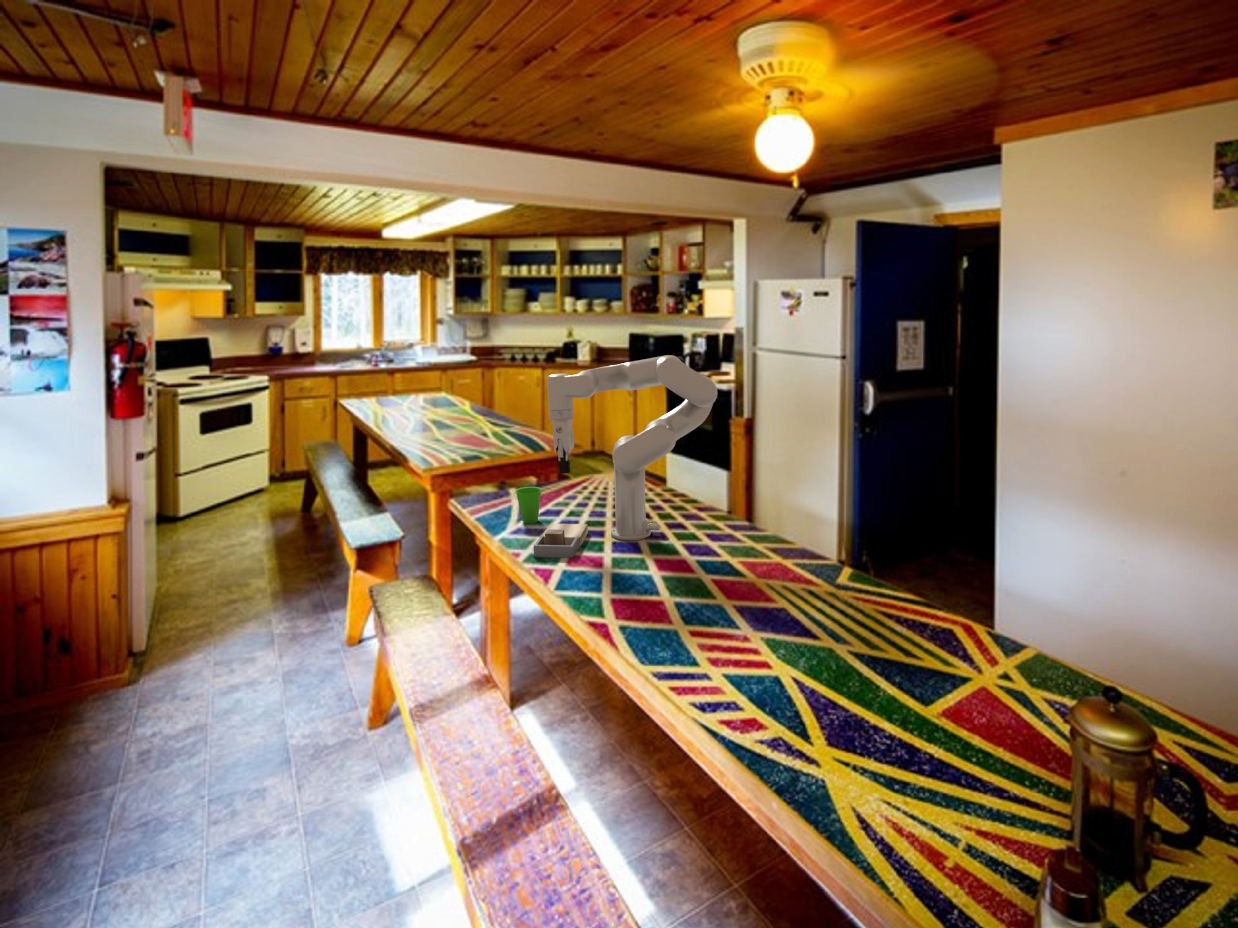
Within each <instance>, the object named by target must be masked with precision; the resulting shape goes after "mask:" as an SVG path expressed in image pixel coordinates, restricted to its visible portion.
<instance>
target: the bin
mask: <svg viewBox="0 0 1238 928" xmlns="http://www.w3.org/2000/svg"><path fill="white" fill-rule="evenodd" d="M579 549H580V547H579V536H576V537H575V539H574V540H573V542H572V544H571V545H544V535H543V534H541V535H540V536H539V538H538V539H537V540H536V541H535V543H534V545H533V556H534V557H533V558H552V559H553V558H556V559H557V558H558V559H559V558H561V559H562V558H563V559H567V558H568V559H573V558H574V557H575V555H577V554H576V553H577V552H578V550H579Z"/></svg>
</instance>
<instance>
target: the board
mask: <svg viewBox="0 0 1238 928" xmlns="http://www.w3.org/2000/svg"><path fill="white" fill-rule="evenodd" d="M548 529H555V530H564V535H565V545H571V544H572V542H573V540H574V539H575V537H576V536H579V548H581V547H582V544H583V542H584V541H585V539H586V538H587V535H588V533H589V530H588V529H589V528H588V524H586V523H550V524H549V525H548V527H547V528H546V529H545V530H544V532H543V534H542V535H544V545H545V533H546V531H547V530H548Z"/></svg>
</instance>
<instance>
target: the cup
mask: <svg viewBox="0 0 1238 928" xmlns="http://www.w3.org/2000/svg"><path fill="white" fill-rule="evenodd" d="M542 491H543V489H542V488H541V487H538V486H525V487H524V486H523V487H519V488H517V489H515V490H514V492H515V494H516V498H517V502H518V507H519V512H520V516H521V520H522V522H523V523H524V524H534V523H537V522H538V521H539V512H540V504H541V495H542Z"/></svg>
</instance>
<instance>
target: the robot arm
mask: <svg viewBox="0 0 1238 928" xmlns="http://www.w3.org/2000/svg"><path fill="white" fill-rule="evenodd" d="M546 378H547V379H546V385H547V400H548V401H547V403H548V416H549V417H548V419H549V421H550V422H551V421H552V437H553V451H554V452H555V453H556V454H557V456H558V457H557V458H558V473H559V474H570V473H571V461H570V452H571V451H573V449H574V448H575V436H574V427H573V420H574V419H575V417H574V416H575V413H574V398H575V399H588V398H590V397H591V398H592V396H593V395H595V393H601V392H607V391H613V390H623V391H637V390H642V389H647V388H651V387H652V388H653V387H658V386H664V387H666V388H667V389H669V390H670V391H672V392H673V393H675V394H676V395H677V396H679V397H681V398H682V399H684V401H682V403H681V404H679V405H678V406H676V407H675V408H673V409H672V410H669V412H667V413H665V414H664V415H662V416H659V417H658V418H656V419H654V420H652V421H650V422H649V423H648V424H647V425H646V426H645V429H644V431H643V430H642V431H641V432H639V433H638V434H636V435H629V434H628V435H624V436H622V437H620V438H619V439H618V440H616V442H615V444H614V447H613V451H612V463H613V471H614V472H613V475H614V479H613V480H614V509H615V510H614V511H615V513H614V514H615V527H613V528H612V529H611V531H610V535H611V537H612V538H614V539H617V540H620V541H621V540H622V541H637V540H644V539H646V538H648V537H650V536H651V534H652V533H651V532H652V531H659V532H660V530H661V529H660V528H661V525H660V524H659V523H657V522H649V521H648V518H647V517H646V467H647V466H649V465H651V464H653V463H654V462H657V461H658V460H660V459H661V458H663V457H664V456H666V455H668V454H669V453H670V452H671V451H672V450H673V449H674V447H675V446H676V443H677V441H678V440H680V438H683V437H684V436H686V435H688V434H689V433H691V432H692V431H693V430H696V428H698V427H699V426H701V425H702V424H703V423H704V422H705V421H706V420H707V418H708V416H709V415H710V413H711V410H712V408H713V405H714V403H715V402H716V399H717V398H718V389H717V388H718V387H717V385H716V384H715V382H714V381H713V379H711V378H710V377H708V376H707V375H704V374H701V373H699V372H698V371H696V370H694V369H693V368H692V367H690V366H688V365H687V364H686V363H684V362H683V361H681V359H680V358H678V357H677V356H675V355H673V354H672V355H671V354H670V355H669V354H667V355H661V356H657V357H651V358H650V357H649V358H646V359H640V360H634V361H628V362H624V363H619V364H615V365H614V364H613V365H608V366H601V367H596V368H591V369H586V370H585V369H584V370H582V371H580V372H578V373H577V374H572V375H570V374H568V373H552V374H550V375H547V377H546Z"/></svg>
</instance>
